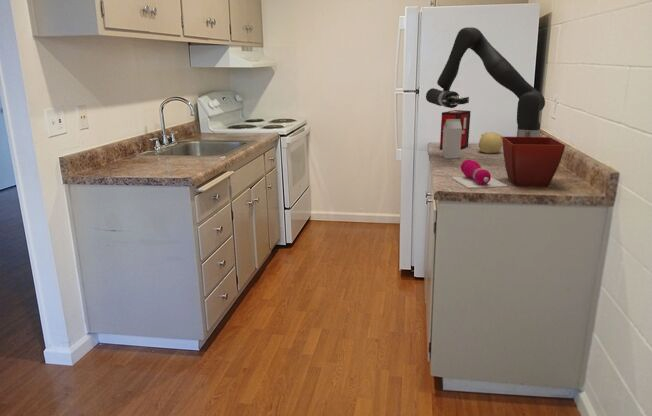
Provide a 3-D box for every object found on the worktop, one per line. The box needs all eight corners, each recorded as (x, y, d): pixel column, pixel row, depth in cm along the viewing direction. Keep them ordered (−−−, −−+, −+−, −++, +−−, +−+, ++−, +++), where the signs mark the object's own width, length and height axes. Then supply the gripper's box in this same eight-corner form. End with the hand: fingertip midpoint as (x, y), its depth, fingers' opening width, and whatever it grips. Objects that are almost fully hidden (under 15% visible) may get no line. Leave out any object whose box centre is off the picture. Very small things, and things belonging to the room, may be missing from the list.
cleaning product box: (453, 145, 286) (455, 110, 280) (468, 147, 281) (470, 110, 275) (439, 149, 274) (441, 112, 268) (455, 151, 268) (457, 113, 263)
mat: (450, 178, 209) (450, 177, 209) (487, 176, 211) (487, 175, 211) (468, 188, 192) (468, 187, 192) (507, 186, 194) (508, 185, 194)
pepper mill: (468, 178, 212) (488, 192, 193) (455, 169, 210) (474, 183, 191) (479, 164, 210) (499, 177, 191) (466, 155, 208) (485, 167, 190)
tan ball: (503, 151, 266) (505, 131, 263) (497, 155, 256) (499, 134, 253) (482, 150, 272) (483, 130, 269) (475, 153, 262) (477, 132, 259)
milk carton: (459, 158, 249) (462, 119, 244) (445, 158, 249) (447, 120, 243) (455, 156, 256) (458, 118, 250) (441, 156, 256) (444, 118, 250)
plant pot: (560, 189, 190) (566, 144, 185) (508, 187, 192) (512, 144, 188) (546, 177, 208) (550, 136, 203) (498, 176, 211) (501, 136, 206)
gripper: (435, 91, 233) (449, 93, 216) (462, 90, 234) (478, 92, 218) (434, 107, 235) (448, 111, 218) (461, 106, 236) (477, 110, 220)
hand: (463, 101), depth 218 cm, fingers closed
